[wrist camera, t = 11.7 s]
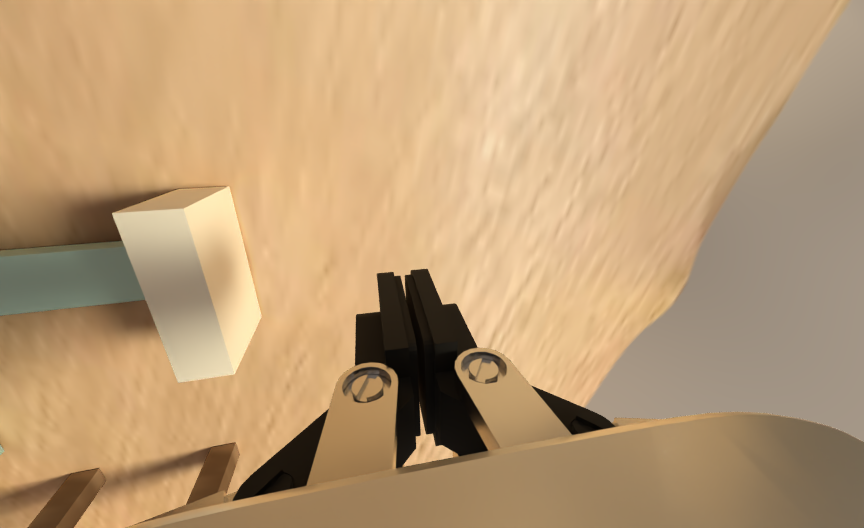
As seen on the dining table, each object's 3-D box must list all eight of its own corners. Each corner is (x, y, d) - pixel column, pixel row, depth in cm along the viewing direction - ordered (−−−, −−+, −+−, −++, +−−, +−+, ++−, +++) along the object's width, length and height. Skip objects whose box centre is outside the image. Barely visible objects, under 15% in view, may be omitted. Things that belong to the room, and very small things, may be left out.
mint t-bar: (190, 29, 15) (114, -17, 10) (283, 403, 24) (265, 475, 19) (-343, 15, 12) (-819, -62, 7) (-16, 454, 20) (-131, 557, 16)
